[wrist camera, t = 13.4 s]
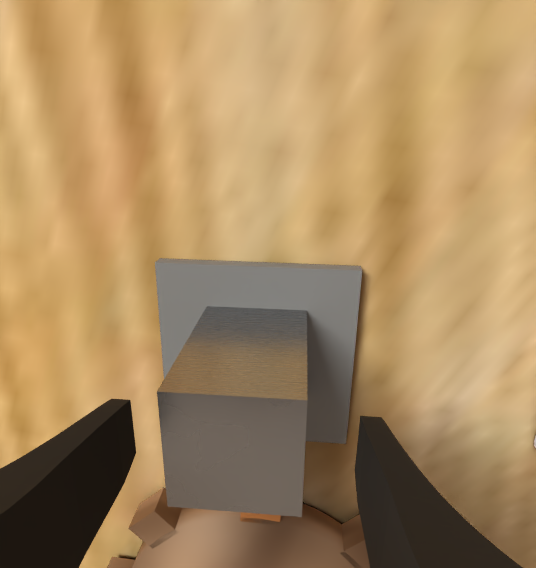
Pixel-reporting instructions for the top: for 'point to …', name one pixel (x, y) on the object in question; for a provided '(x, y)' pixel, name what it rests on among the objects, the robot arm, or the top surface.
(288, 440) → the link block
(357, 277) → the mat
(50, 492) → the robot arm
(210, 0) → the top surface
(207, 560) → the sprocket wheel
